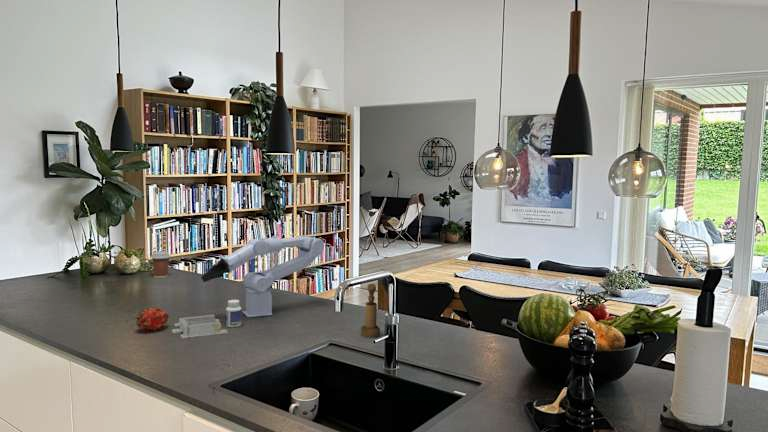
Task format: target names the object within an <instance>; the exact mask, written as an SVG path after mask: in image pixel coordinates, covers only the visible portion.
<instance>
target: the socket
mask: <svg viewBox="0 0 768 432" xmlns="http://www.w3.org/2000/svg"><path fill="white" fill-rule="evenodd" d="M215 317H216V316H215V314H207V315H199V316H189V317H187V316H186V317H181V318H178V323H177V322H176V323H174V327H175V329H174V328H173V329H171V333H172V334H178V333H182V332H183V333H182V334H180V339H188V337H190V338H196V337H197V336H198V337H204V336H205V337H206V336H212V335H213V336H215V335H222V334H228V333H229V331H228V329H225V328H224V329H222V324H221V322H220V319H219V318H215ZM198 337H197V338H198Z"/></svg>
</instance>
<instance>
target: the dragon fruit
mask: <svg viewBox="0 0 768 432" xmlns="http://www.w3.org/2000/svg"><path fill="white" fill-rule="evenodd" d="M169 318H170V317H169V315H168V313H167V312H165V310H162V309H160V307H159V306H156V307H155V308H152V307H149V308H147V309H144V308H143V309H142V310H141V311H140V312H139V313H138V314H137V316H136V325H137V326H138V328H139V329H140V330H143V329H144V331H145V332H148V331H149V330H150V331H154V332H155V331H157V330H159V329H160V330H162V329H163V328H165V326H164V325H166V323H167V321H168V319H169Z"/></svg>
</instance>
